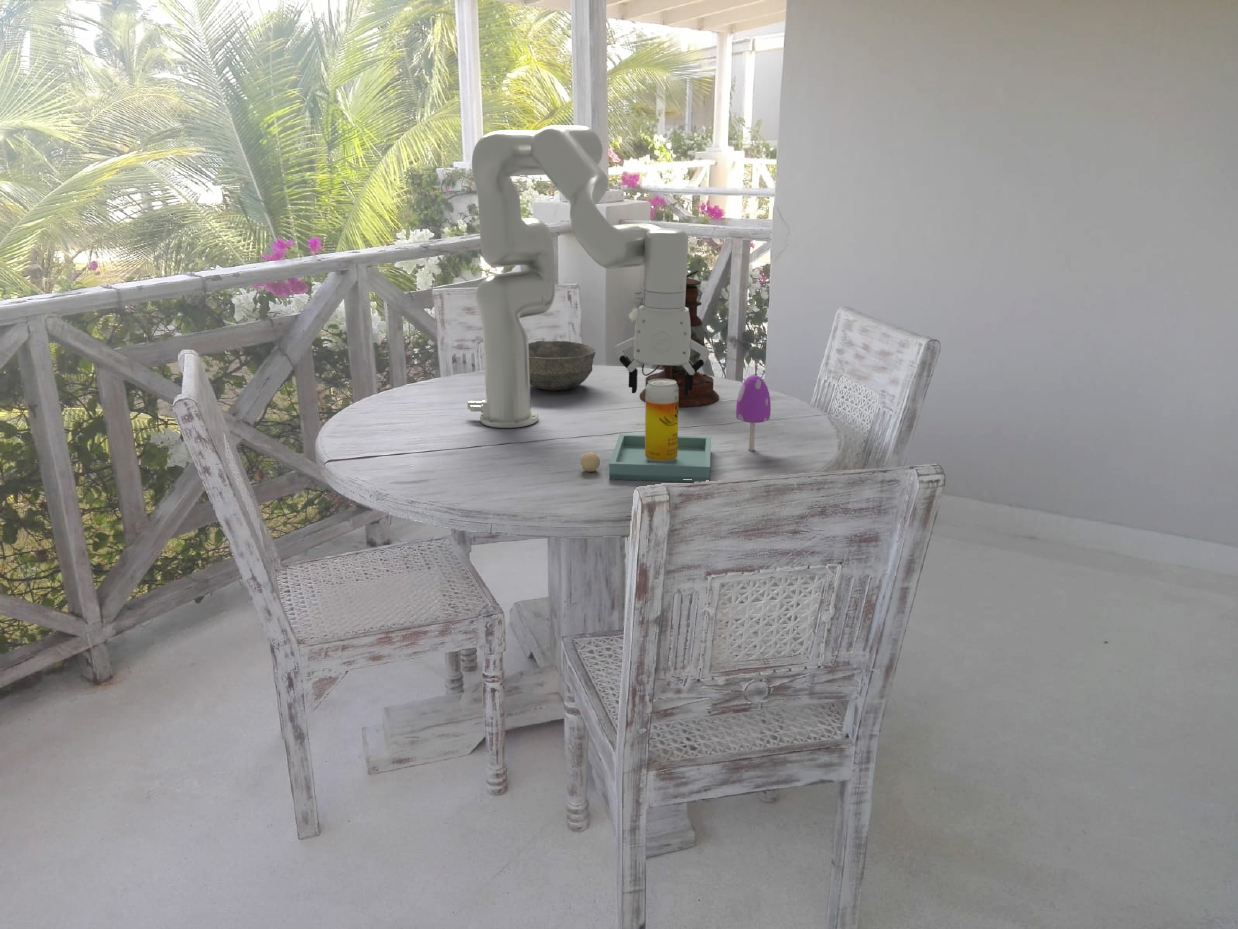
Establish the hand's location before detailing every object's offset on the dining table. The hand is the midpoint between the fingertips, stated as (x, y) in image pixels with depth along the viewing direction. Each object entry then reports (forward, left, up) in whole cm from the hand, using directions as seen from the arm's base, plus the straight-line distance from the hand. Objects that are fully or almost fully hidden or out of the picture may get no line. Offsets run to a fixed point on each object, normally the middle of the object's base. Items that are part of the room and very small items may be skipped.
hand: (660, 392), depth 174 cm
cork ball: (-12, -5, -14) cm, 19 cm away
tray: (+1, 0, -14) cm, 14 cm away
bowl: (-29, +55, -14) cm, 64 cm away
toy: (+18, +11, -14) cm, 25 cm away
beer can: (0, 0, -13) cm, 13 cm away
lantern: (+2, +50, -14) cm, 52 cm away
